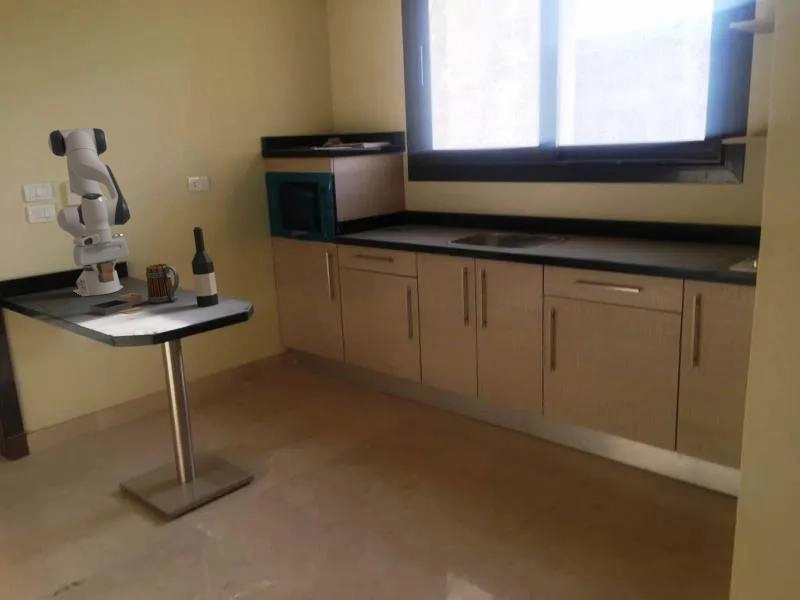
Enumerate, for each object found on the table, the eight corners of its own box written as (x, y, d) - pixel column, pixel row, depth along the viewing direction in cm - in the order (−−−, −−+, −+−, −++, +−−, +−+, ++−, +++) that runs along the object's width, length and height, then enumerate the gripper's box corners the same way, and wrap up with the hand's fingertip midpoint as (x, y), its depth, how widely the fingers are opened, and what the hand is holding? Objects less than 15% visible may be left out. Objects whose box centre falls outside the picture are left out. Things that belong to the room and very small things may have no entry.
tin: (91, 313, 258) (89, 305, 257) (117, 306, 266) (116, 299, 266) (105, 316, 251) (104, 308, 251) (132, 309, 260) (131, 302, 259)
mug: (142, 304, 267) (136, 267, 264) (163, 298, 276) (157, 262, 273) (171, 306, 260) (165, 268, 257) (191, 300, 269) (185, 263, 266)
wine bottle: (221, 301, 264) (211, 225, 257) (215, 306, 255) (204, 227, 249) (200, 302, 264) (190, 226, 257) (193, 307, 256) (182, 229, 249)
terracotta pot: (120, 305, 268) (118, 296, 267) (134, 302, 272) (132, 293, 271) (128, 307, 264) (127, 297, 263) (142, 303, 269) (140, 294, 268)
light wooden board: (118, 313, 255) (118, 311, 255) (137, 308, 261) (137, 306, 261) (129, 315, 250) (129, 314, 250) (148, 310, 256) (148, 309, 256)
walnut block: (98, 281, 256) (95, 263, 254) (108, 279, 259) (105, 262, 257) (104, 282, 254) (101, 264, 252) (114, 280, 257) (111, 262, 255)
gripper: (120, 232, 262) (125, 267, 265) (68, 241, 247) (75, 277, 250) (129, 233, 258) (134, 268, 261) (76, 242, 243) (83, 279, 246)
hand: (105, 273), depth 256 cm, fingers closed on walnut block, 4 cm apart
